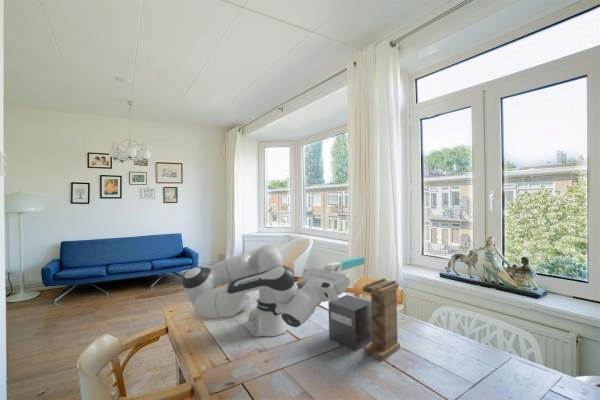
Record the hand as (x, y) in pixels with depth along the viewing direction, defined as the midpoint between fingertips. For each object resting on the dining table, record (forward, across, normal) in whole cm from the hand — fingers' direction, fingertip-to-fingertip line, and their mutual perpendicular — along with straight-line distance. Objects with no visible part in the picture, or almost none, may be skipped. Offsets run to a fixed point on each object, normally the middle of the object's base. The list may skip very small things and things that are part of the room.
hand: (336, 265), depth 114 cm
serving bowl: (-26, -66, -24) cm, 75 cm away
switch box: (-8, 0, -34) cm, 35 cm away
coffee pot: (+6, -46, -42) cm, 63 cm away
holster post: (-7, +14, -34) cm, 38 cm away
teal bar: (+5, 0, -5) cm, 7 cm away
